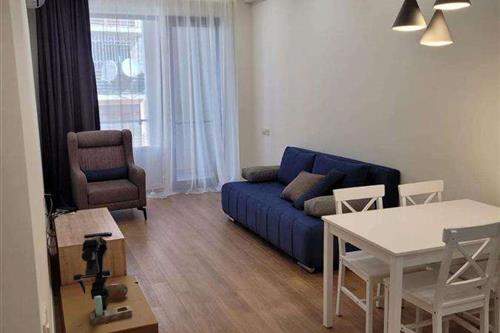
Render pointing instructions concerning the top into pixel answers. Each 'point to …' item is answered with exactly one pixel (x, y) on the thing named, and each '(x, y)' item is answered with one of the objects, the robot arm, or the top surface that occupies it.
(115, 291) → the tin
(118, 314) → the brown slotted board
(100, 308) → the post
